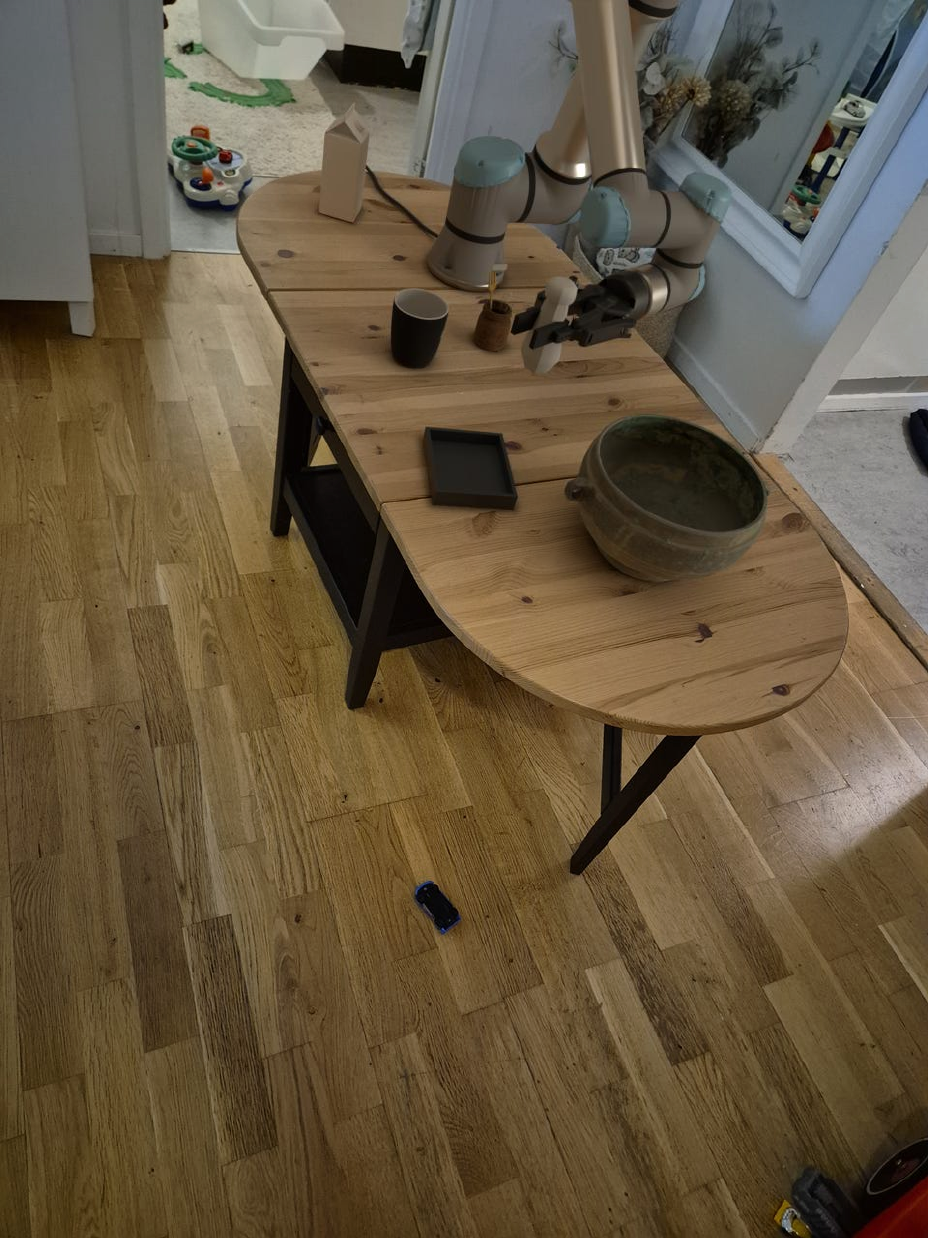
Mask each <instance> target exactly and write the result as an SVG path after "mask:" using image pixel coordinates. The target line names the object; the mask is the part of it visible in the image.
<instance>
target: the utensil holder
mask: <svg viewBox="0 0 928 1238" xmlns="http://www.w3.org/2000/svg"><path fill="white" fill-rule="evenodd" d="M493 277H494V283H493ZM495 287H496V270H495V272H494V271H492V279H491V271H490V273H489V285H488V290H490V291H489V293H490V295H489V299H488V300H486V301H485V302H484V304H483V306H482V311H481V312H480V313H479V314H478V318H477V321H476V325H475V329H474V334H473V341H474V343H475V344H476V345H477V347H480V348H481V349H483V350H485V351H489V352H498V351H500V350H502V349H503V348H505V346H506V343H507V340H508V337H509V334H510V331H511V327H512V326H511V325H512V320H511V318H512V316H513V309H512V308H513V307H514V306H515V303H516V301H514V299H515V297H517V295H516V293H515V292H513V291H512V290H509V293H508V294H507V295H506V296H505V294H503V295H502V297H505V298H507V299H506V300H505V301H504V298H501V299H493V295H494V294H493V293H494V291H495ZM510 295H511V296H512V295H513V297H510V299H509V296H510ZM511 298H512V299H511ZM508 299H509V300H510V302H509V303H510V304H509V303H508V302H507V301H508ZM512 301H513V302H512ZM510 305H511V306H510Z"/></svg>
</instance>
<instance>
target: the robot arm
mask: <svg viewBox="0 0 928 1238" xmlns="http://www.w3.org/2000/svg"><path fill="white" fill-rule="evenodd" d="M567 1H568V2H569V3H570V4H571V8H572V17H573V25H574V33H575V34H574V35H575V42H576V50H577V59H578V66H577V69H576V71H575V73H574V75H573V78H572V80H571V82H570V84H569V87H568V89H567V91H566V94H565V96H564V98H563V101H562V103H561V105H560V108H559V110H558V112H557V114H556V117H555V119H554V121H553V124H552V126H551V128H550V130H546V131H544V132H542V133H540V134H539V136H538V137H537V139H536V141H535V143H534V146H533V148H532V150H531V152H528V151H527V152H526V151H525V150H524V148H523V147H522V146H521V145H520V144H519V143H518V142H516V141H514V140H512V139H509V138H502V137H501V136H496V135H483V136H477V137H474V138H471V139H469V140H467V141H466V142H465V143H464V144H463V145H462V146H461V148H460V150H459V153H458V156H457V159H456V163H455V166H454V168H453V178H452V183H451V188H450V194H449V198H448V204H447V210H446V216H445V220H444V224H443V226H442V228H441V230H440V232H439V234H437V233H436V232H435V231H433V230H432V229H430V228H428V227H427V225H425V224H424V223H423V222H421V221H420V220H419V219H418V218H416V216H414V214H412V212H411V211H410V210H408V209H407V208H406V207H405V206H404V205H403V204H402V203H400V202H399V201H397V200H396V199H394V197H392V196H391V195H390V194H388V193H387V192H386V191H384V189H383V188H382V187H381V185H380V184H379V181H378V179H377V176H376V175H375V173H374V171H372V169H371V168H370V167H369V165H368V164H366V171H367V172H368V174H369V175H370V176H371V179H372V181H373V183H374V185H375V187H376V189H377V191H379V192H380V194H381V195H382V196H384V197H385V198H386V199H387V200H389V201H390V202H391V203H393V205H395V206H397V207H398V208H399V209H400V210H401V211H403V212H404V213H405V214H406V215H407V216H408V217H409V218H410V219H411V220H413V222H415V224H417V225H418V226H419V227H420V228H421V230H423V231H425V232H426V233H428V234H429V235H431V236H432V237H434V238H435V241H434V243H433V244H432V246H431V248H430V250H429V253H428V258H427V267H428V269H429V270H430V272H431V274H433V276H434V277H435V278H437V279H438V280H439V281H441V282H443V283H444V284H446V285H449V286H451V287H453V288H456V289H459V290H464V291H467V292H474V293H475V292H479V293H480V292H482V293H483V292H491V291H490V290H488V285H489V273H490V271H491V279H492V271H494V272H495V270H496V287H495V289H498V288H499V287H500V286H501V285H502V283H503V281H504V278H505V272H506V271H507V268H508V265H509V264H508V263H505V245H504V240H505V236H506V232H507V228H508V224H532V225H533V224H536V225H552V226H561V225H568V224H573V223H576V222H578V226H579V227H578V228H579V231H580V234H581V236H582V238H583V239H584V241H585V242H586V243H587V244H588V245H590V246H592V247H599V248H607V249H612V250H617V249H635V248H636V249H639V248H640V249H643V248H644V249H645V248H646V249H655V250H654V252H653V255H652V258H651V260H650V261H649V262H646V263H643V264H640V265H638V266H633V267H630V268H627V269H625V270H622V271H619V272H615V273H612V274H609V275H607V276H604V278H603V279H602V280H600V281H599V282H598V283H596V284H594V283H588V284H586V285H583V284H581V283H579V282H578V280H579V278H578V277H577V276H576V275H570V276H569V277H568V279H570V280H572V281H573V282H574V283H575V285H576V286H577V288H578V289H577V295H576V298H575V301H574V302H573V303H572V304H570V305H569V306H568V312H567V317H570V316H572V319H571V321H570V320H569V319H567V318H566V319H565V320H564V321H563V322H561V321H560V322H554V323H551V324H548V325H545V326H542V327H539V328H536V329H534V331H533V335H532V338H531V341H530V344H529V348H531V349H532V350H534V349H536V348H539V347H542V346H545V345H547V344H550V343H553V342H554V343H555V344H559V343H561V342H562V343H564V342H565V343H566V342H567V341H569V342H574V341H575V342H577V345H578V346H579V347H580V348H588V347H590V346H594V345H599V344H602V343H606V342H609V341H613V340H616V339H631V337H632V335H633V332H634V331H635V328H636V325H637V323H638V321H640V320H643V319H646V318H649V317H652V316H654V315H657V314H659V313H663V312H665V311H669V310H672V309H677V308H680V307H682V306H684V305H685V304H687V303H689V302H690V301H692V300H694V299H695V298H697V297H698V296H699V295H700V294H701V292H702V290H703V288H704V286H705V284H706V283H705V282H706V270H705V266H704V264H703V263H704V261H705V259H706V257H707V255H708V252H709V251H710V248H711V246H712V244H713V242H714V240H715V238H716V235H717V234H718V232H719V230H720V227H721V225H722V224H723V223H724V221H725V217H726V215H727V212H728V210H729V207H730V203H731V201H732V198H733V197H732V196H733V193H732V189H731V188H730V186H729V185H728V184H727V183H726V182H725V181H723V180H722V179H720V178H719V177H716V176H714V175H713V174H709V173H705V172H700V171H699V172H698V171H694V172H692V173H688V174H687V175H686V176H685V177H684V179H683V181H682V182H681V184H680V185H679V188H678V190H662V189H649V182H648V178H647V177H648V176H647V167H646V157H645V149H644V140H643V129H642V120H641V109H640V99H639V90H638V83H637V82H638V81H637V73H636V68H637V66H638V64H639V62H640V60H641V59H642V57H643V55H644V52H645V50H646V48H647V47H648V44H649V42H650V41H651V38H652V36H653V35H654V33H655V30H656V28H657V26H658V25H659V23H660V22H663V21H666V20H669V19H671V18H672V17H673V16H674V15H675V14H676V11H677V9H678V8H679V5H680V3H681V1H682V0H567ZM493 283H494V277H493ZM495 289H494V290H495ZM546 298H547V297H546V295H545V289H543V290H541V291H539V292H537V295H536V297H535V301H534V304H533V306H531V307H527V308H526V310H525V311H523V312H520V313H516V314H515V315H514V317H513V322H512V324H511V325H512V326H511V327H510V331H509V334H512V336H517V335H519V334H522V333H525V332H528V331H529V330H531V329H532V328H533V326H534V324H535V322H536V320H537V318H538V316H539V314H540V312H541V307H542V305H543V303H544V301H545V299H546ZM574 315H575V316H574ZM576 316H577V317H576Z"/></svg>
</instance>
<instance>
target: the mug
mask: <svg viewBox="0 0 928 1238" xmlns="http://www.w3.org/2000/svg"><path fill="white" fill-rule="evenodd" d="M448 316H449V304H448V303H447V301H446V300H445V299H444V298H443V297H442V296H441V295H438V294H437V293H435V292H433V291H430V290H427V289H423V288H414V287H412V288H405V289H402V290H399V291H398V292H396V293H395V295H394V298H393V302H392V309H391V319H390V323H391V324H390V350H391V353H392V357H393V358H394V359H395V361H396V362H397V363H398V364H400V365H401V366H403V367H406V368H408V369H409V368H410V369H423V368H426V367H427V366H428V365H430V364H431V362H432V361H433V359H434V358H435V356H436V354H437V352H438V349H439V347H440V343H441V341H442V337H443V334H444V331H445V328H446V325H447V322H448V321H447V320H448Z"/></svg>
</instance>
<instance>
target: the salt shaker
mask: <svg viewBox="0 0 928 1238" xmlns="http://www.w3.org/2000/svg"><path fill="white" fill-rule="evenodd" d="M577 289H578V288H577V286H576V285H575V283H574V282H573V281H572V280H570V279H569V277H566V276H560V275H558V276H553V277H551V278H549V279H548V280H547V282H546V284H545V288H544V290H545V295H546V297H547V298H546V299H545V301H544V303H543V305H542V307H541V312H540V314H539V316H538V318H537V320H536V322H535V324H534V326H533V328H532V329H531V330H528V331H527V332H526V334H525V337H524V339H523V340H522V342H521V348H520V353H521V357H522V362H523V366H524V368H525V369H527V370H529V371H530V372H532V373H534V374H548V373H549V371H550V370H551V369H552V368H553V367H554V366H555V365H556V364H558V363H559V361H560V359H561V353H562V348H563V342H561V343H559V344H555V343H554V342H553V343H550V344H547V345H545V346H542V347H539V348H536V349H534V350H532V349H531V348H529V344H530V341H531V338H532V335H533V331H534V329H536V328H539V327H542V326H545V325H548V324H551V323H554V322H560V321H561V322H563V321H564V320H565V319H567V317H568V316H567V312H568V306H569V305H570V304H572V303H573V302H574V301H575V298H576V295H577Z"/></svg>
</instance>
